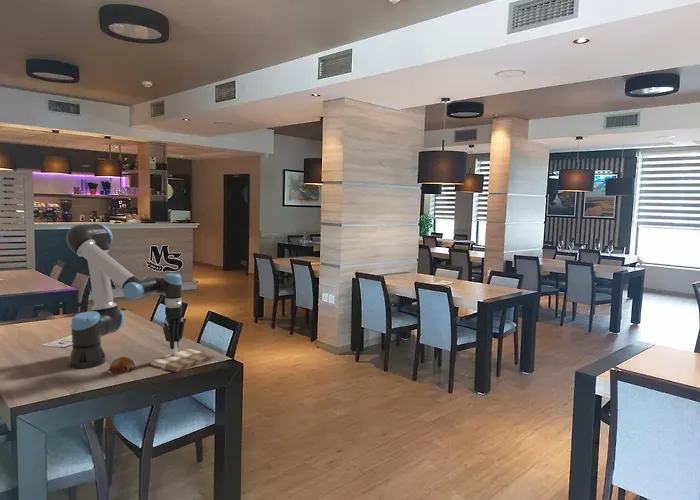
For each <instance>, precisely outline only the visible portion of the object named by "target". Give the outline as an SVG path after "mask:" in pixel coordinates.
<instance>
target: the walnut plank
mask: <svg viewBox="0 0 700 500" xmlns="http://www.w3.org/2000/svg"><path fill="white" fill-rule="evenodd" d="M214 358H215V354H211V353H207V352H201V353H200V354H197V355H193V356H190V357H187V358H184V359H181V360H178V361H175V362H172V363H169V364H166V365H165V370H166V369H167V370H168V371H169V370H171V371H170V372H175V373H177V372H178V371H179V372H181V370H183V371H185V370H188V369H189V368H190V369H191V368H194V367H196V366H195V365H197V366H199V365H202V364H205V362H206V363H207V362H208V361H210V362H211V361H214V360H215V359H214ZM198 364H199V365H198ZM193 366H194V367H193ZM179 372H178V373H179Z"/></svg>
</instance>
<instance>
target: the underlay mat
mask: <svg viewBox="0 0 700 500" xmlns="http://www.w3.org/2000/svg"><path fill="white" fill-rule="evenodd" d="M213 360H216V358H215V357H214V359H213ZM207 362H211V360H210V361H207ZM207 362H204V364H205V363H207ZM146 365H149V362H148V363H146ZM151 366H152V367H155V366H154V365H151ZM197 366H200V364H198V365H195V366H193V367H192V368H195V367H197ZM157 368H158V369H161V370H165V371H168V372H172V371H171V370H168V369H166V367H165V368H161V367H157ZM188 369H191V367H190V368H188ZM181 371H182V372H184V370H181ZM181 371H178V372H175V371H173V373H175V374H176V373H179V372H181Z"/></svg>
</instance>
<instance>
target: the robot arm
mask: <svg viewBox="0 0 700 500" xmlns="http://www.w3.org/2000/svg"><path fill="white" fill-rule="evenodd" d="M113 240H114V236H113V232H112V230H111V229H110V228H109V227H108V226H106V225H104V224H102V223H101V224H99V223H89V224H77V225H74V226H72V227H71V228H70V229H69V230H68V231H67V233H66V236H65V241H66V244H67V246H68V248H69V249H70V250H71V251H72V252H73V253H74V254H75V255H77V256H78V257H83V258H84V259H85V260H86V261H87V265H88V266H87V267H88V271H89V278H90V287H91V292H92V298H93V306H92V307H91V311H85V312H83V311H82V312H80V313H77V314H75V315H74V316H73V317H72V318H71V323H70V324H71V325H70V327H71V340H72V341H71V343H72V349H71V353H70V356H69V359H68V366H69V367H70V368H73V369H87V368H88V369H89V368H93V367H94V368H95V367H97V366H100V365H102V364H103V365H104V364H105V362H106V360H107V359H106V355H105V352H104V350H103V347H102V339H101V337H104V336H106V335H109V334H112V333H115V332H116V331H119V330H120V329H121V328H122V327H123V325H124V323H125V314H124V312H123V311H122V309H120V308H119V306H118V303H116V302H114V296H113V295H114V294H113V288H112V282H114V283H115V284H116V285H117V286H119V287H120V288H121V289H122V293H123V295H124V297H125V298H126V299H128V300H137V299H140V298H142V297H146V296H149V295H150V296H151V295H154V294H164V306H165V308H164V312H165V313H164V314H165V318H164V319H165V320H164V321H163V322H161V323H160V325H161V328H162V330H163V333H164V338H165V341H166V342H169V348H170V352H171V353H170V354H171V355H174V356H176V355H178V352H179V351H178V348H179V342H180V341H181V340H182V339H183V333H184V329H185V323H186V321H187V319H186V318H184V317H183V316H182V313H183V306H182V305H183V300H182V299H183V297H182V296H183V295H182V291H183V289H182V287H183V286H182V285H183V282H182V276H181V274H180V273H166V274H165V275H164V277H157V276H156V277H154V276H145V277H142V279H141V280H140V279H139V278H138V277H137V276H135V275H134V274H133V273H132V272H130V271H129V270H127V269H126V268H125V266H123V265H122V264H120V263H119V262H118V261H117V260H115V259H114V258H113V257H112V256H110V254H108V253H109V252H110V246H111V244H112V242H113ZM111 281H112V282H111Z"/></svg>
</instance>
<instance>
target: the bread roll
mask: <svg viewBox="0 0 700 500" xmlns="http://www.w3.org/2000/svg"><path fill="white" fill-rule="evenodd" d="M134 369H135V363H134V361H133V360H132V358H130V357H127V356H121V357H117V358H115V359H114V360H113V361H112V362H111V364H110V366H109V372H110V373H111V374H114V375H120V374H125V373H130V372H132V371H133V370H134Z"/></svg>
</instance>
